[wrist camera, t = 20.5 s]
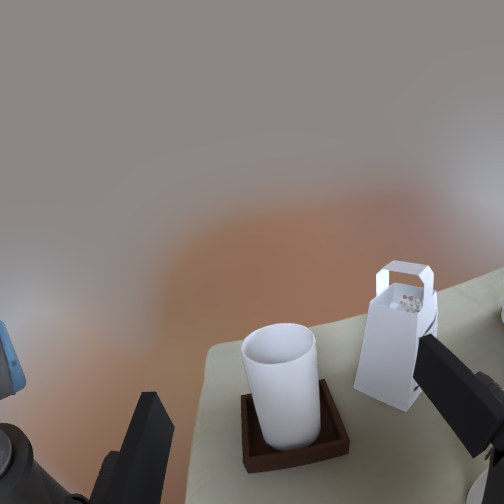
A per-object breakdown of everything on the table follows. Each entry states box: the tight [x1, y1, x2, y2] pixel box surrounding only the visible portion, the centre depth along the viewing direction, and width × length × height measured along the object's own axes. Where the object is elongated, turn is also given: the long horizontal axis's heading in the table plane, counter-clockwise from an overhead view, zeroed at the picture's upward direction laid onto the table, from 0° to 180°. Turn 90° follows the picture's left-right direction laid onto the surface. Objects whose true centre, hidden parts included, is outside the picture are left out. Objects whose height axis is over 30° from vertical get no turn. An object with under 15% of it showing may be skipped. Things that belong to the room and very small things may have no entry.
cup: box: [241, 323, 321, 451], centre depth 31 cm, size 8×8×16 cm
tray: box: [241, 379, 350, 473], centre depth 33 cm, size 13×13×3 cm
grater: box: [353, 260, 437, 412], centre depth 35 cm, size 10×10×20 cm
